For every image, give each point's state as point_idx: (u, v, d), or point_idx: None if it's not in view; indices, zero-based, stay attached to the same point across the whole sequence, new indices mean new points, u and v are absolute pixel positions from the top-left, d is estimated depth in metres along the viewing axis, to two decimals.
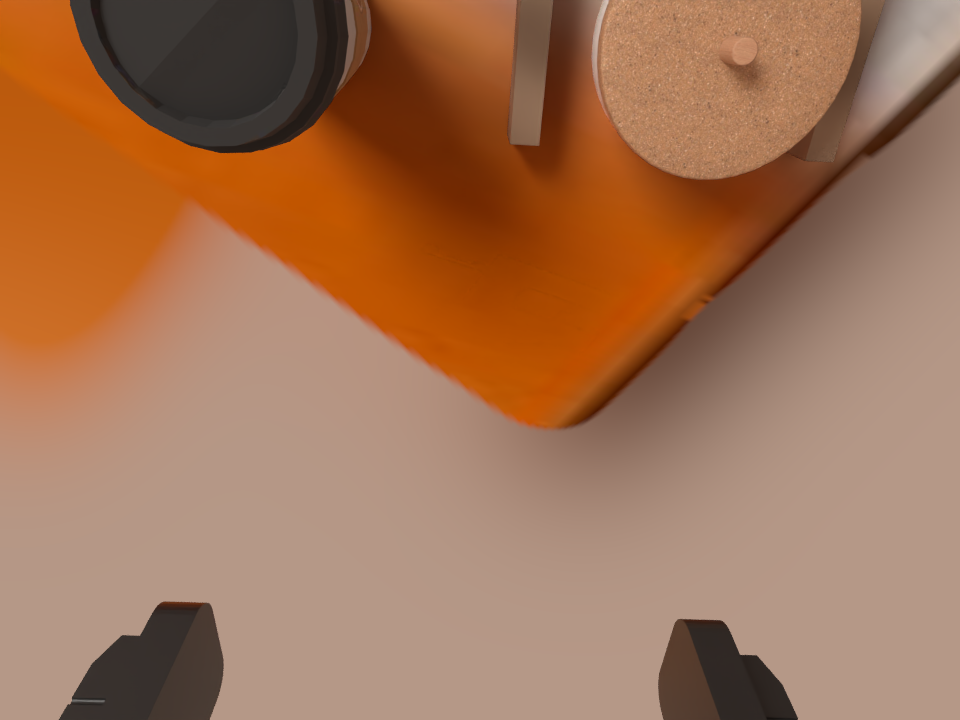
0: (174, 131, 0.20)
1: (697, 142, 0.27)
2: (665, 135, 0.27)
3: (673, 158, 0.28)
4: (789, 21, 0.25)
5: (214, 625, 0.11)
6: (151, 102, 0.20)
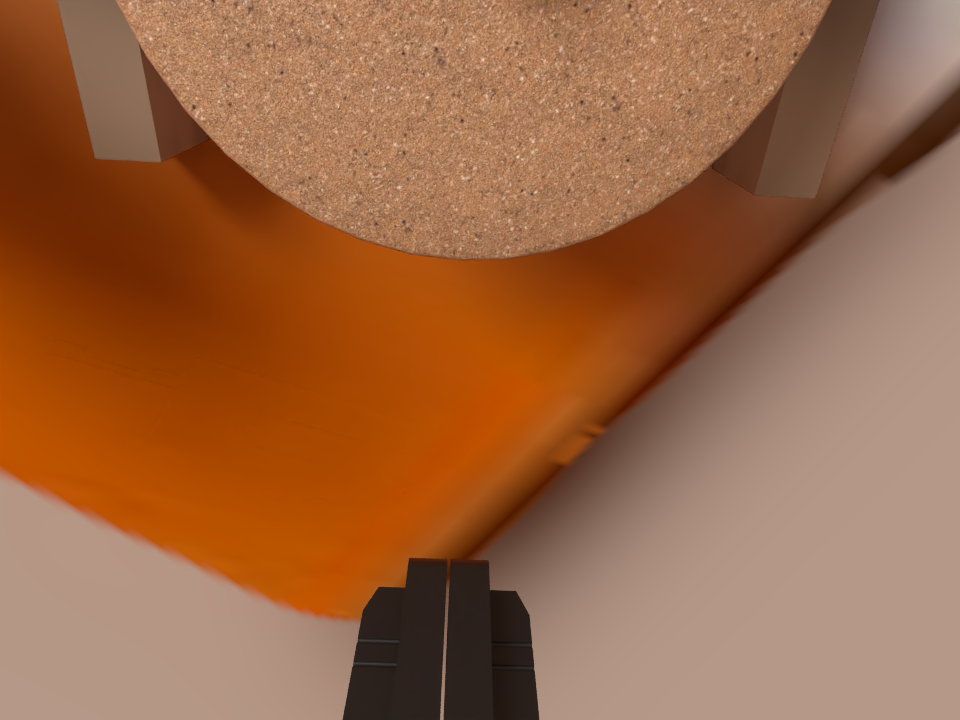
0: None
1: (426, 164, 0.10)
2: (330, 143, 0.10)
3: (370, 207, 0.10)
4: None
5: None
6: None
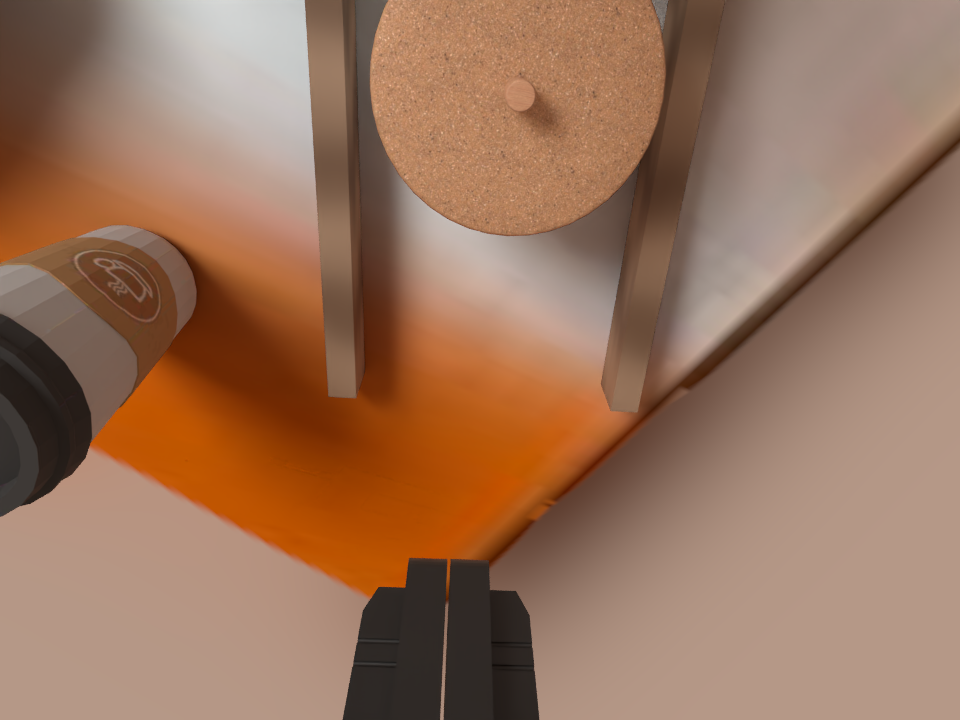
0: None
1: (496, 195, 0.24)
2: (458, 187, 0.24)
3: (472, 213, 0.24)
4: (579, 59, 0.22)
5: None
6: None
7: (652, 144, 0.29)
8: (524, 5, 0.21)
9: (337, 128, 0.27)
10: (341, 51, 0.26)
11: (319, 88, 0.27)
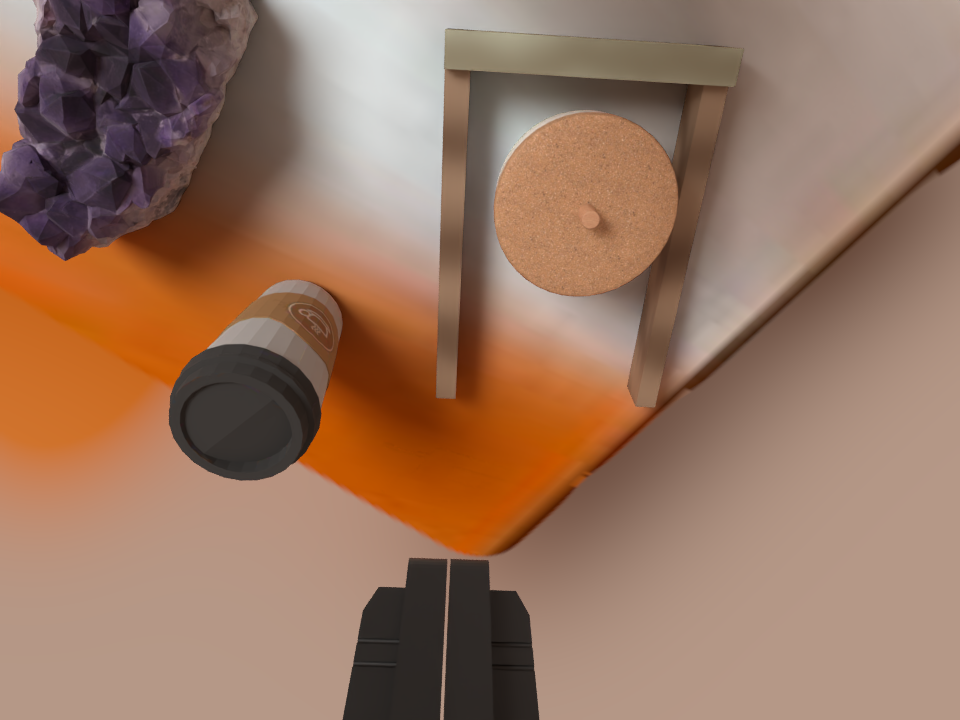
0: (222, 474, 0.36)
1: (570, 272, 0.38)
2: (546, 268, 0.37)
3: (554, 283, 0.38)
4: (625, 194, 0.35)
5: None
6: (210, 460, 0.35)
7: None
8: (593, 164, 0.34)
9: (457, 221, 0.41)
10: (463, 174, 0.39)
11: (447, 196, 0.40)
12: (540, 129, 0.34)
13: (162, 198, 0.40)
